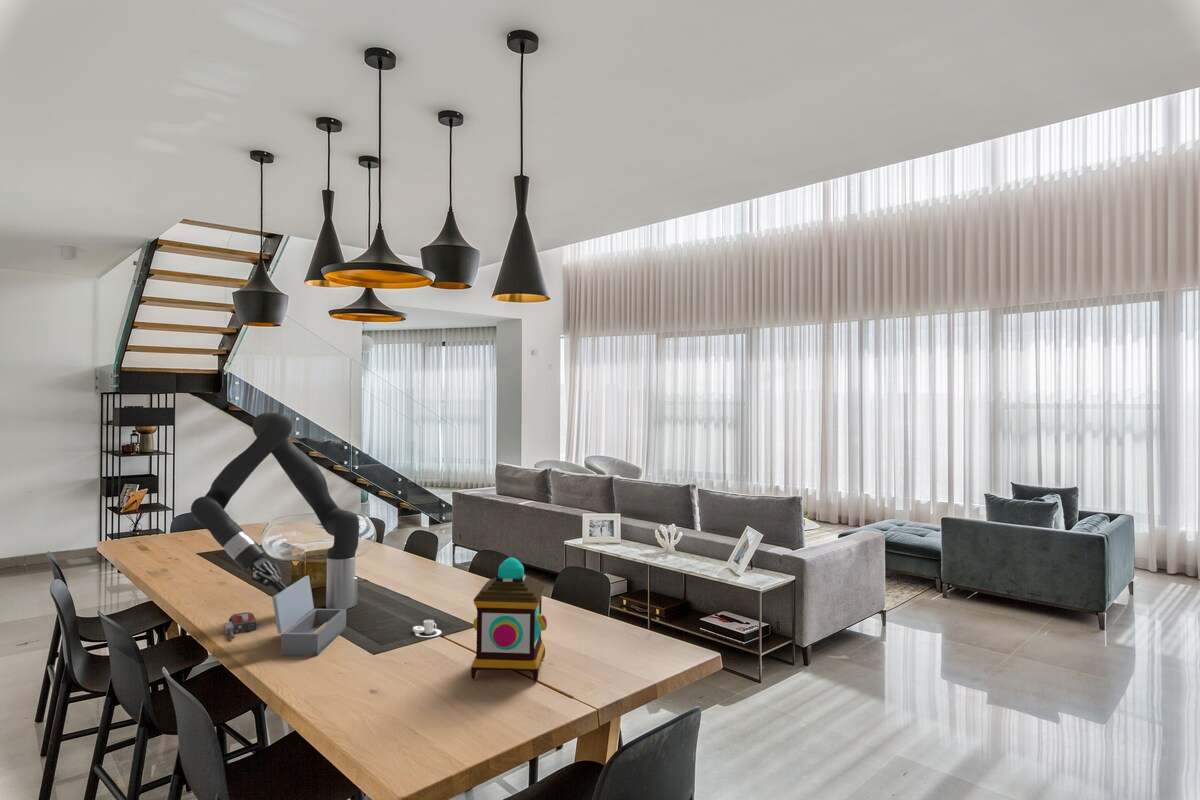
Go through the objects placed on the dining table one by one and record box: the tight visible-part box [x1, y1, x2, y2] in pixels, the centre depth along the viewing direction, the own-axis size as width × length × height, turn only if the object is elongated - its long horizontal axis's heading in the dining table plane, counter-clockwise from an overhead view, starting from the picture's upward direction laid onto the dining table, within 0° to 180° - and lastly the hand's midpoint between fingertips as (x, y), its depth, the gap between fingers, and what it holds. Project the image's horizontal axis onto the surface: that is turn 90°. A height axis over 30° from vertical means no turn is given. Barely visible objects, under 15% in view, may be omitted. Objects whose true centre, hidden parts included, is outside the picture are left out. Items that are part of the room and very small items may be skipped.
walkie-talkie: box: [224, 611, 259, 640], centre depth 216 cm, size 9×4×20 cm
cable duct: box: [280, 608, 347, 657], centre depth 207 cm, size 10×24×6 cm, turn 2°
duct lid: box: [271, 575, 315, 635], centre depth 207 cm, size 10×24×1 cm
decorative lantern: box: [470, 557, 548, 683], centre depth 188 cm, size 20×20×30 cm
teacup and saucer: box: [412, 619, 442, 638], centre depth 216 cm, size 9×8×4 cm
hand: (285, 592), depth 207 cm, fingers closed
